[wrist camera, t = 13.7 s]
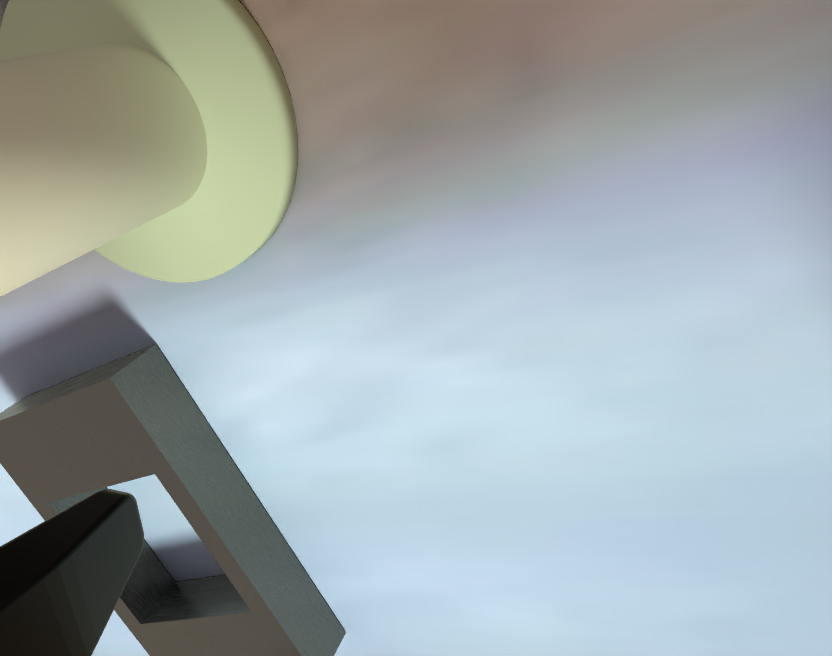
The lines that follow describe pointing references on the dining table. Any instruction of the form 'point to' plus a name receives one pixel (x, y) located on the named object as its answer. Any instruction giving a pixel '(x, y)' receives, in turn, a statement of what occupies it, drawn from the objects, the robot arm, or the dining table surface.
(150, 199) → the cream round peg
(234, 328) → the dining table surface
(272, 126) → the sage mat
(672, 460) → the dining table surface
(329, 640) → the dark grey peg holder
